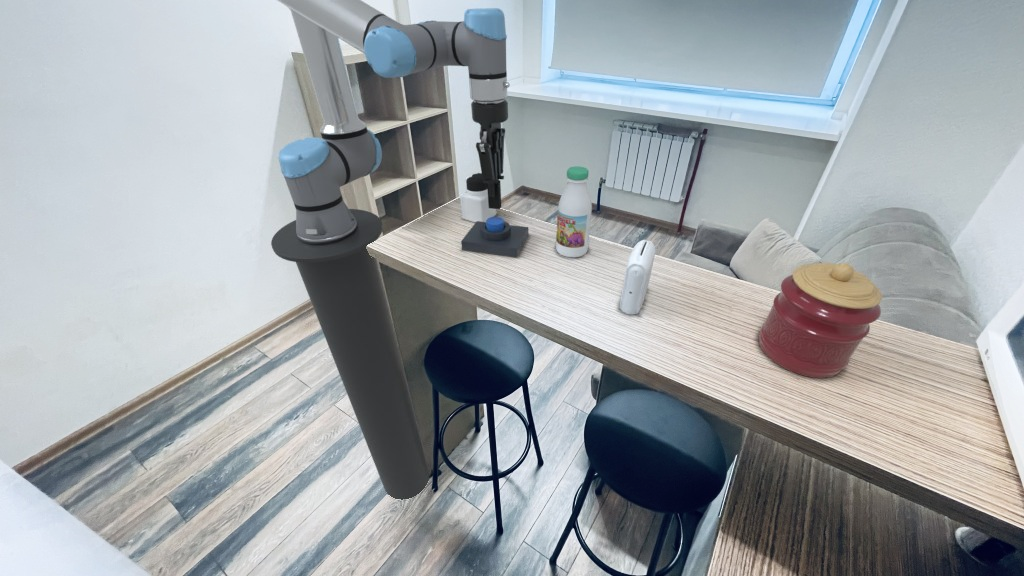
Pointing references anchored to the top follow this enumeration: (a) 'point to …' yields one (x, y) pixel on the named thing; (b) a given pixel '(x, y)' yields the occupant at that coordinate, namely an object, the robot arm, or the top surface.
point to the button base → (495, 239)
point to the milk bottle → (574, 215)
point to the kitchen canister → (820, 318)
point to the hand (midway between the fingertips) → (495, 207)
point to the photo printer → (637, 277)
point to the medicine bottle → (476, 200)
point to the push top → (495, 224)
